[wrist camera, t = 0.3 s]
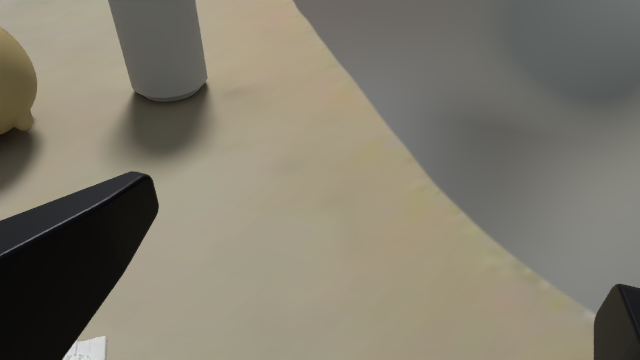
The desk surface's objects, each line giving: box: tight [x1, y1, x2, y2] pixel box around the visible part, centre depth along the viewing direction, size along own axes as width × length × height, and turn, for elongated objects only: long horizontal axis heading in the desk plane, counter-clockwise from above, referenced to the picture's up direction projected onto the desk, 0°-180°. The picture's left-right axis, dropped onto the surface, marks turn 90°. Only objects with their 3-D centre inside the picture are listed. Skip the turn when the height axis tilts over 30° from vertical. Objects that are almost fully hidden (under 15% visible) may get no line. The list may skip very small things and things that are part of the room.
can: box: [108, 0, 207, 102], centre depth 45 cm, size 8×8×12 cm
